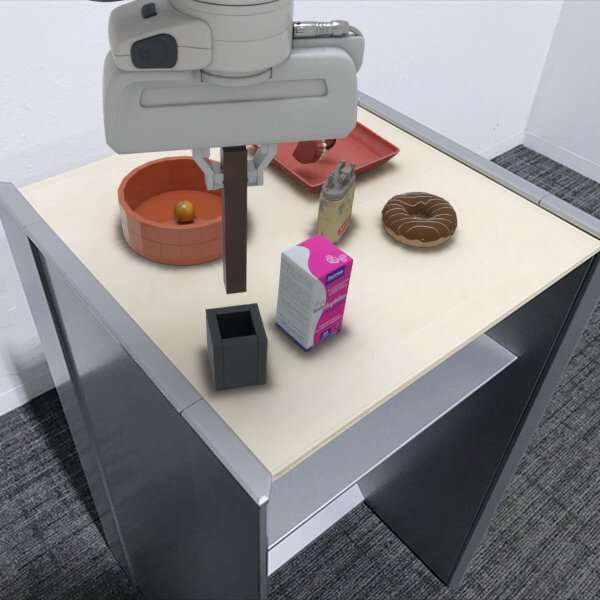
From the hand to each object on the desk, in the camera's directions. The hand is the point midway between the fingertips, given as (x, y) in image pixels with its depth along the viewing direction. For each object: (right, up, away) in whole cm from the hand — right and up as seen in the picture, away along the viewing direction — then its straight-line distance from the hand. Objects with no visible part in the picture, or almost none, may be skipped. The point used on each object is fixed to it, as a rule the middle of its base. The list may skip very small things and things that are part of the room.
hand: (233, 184), depth 58 cm
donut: (+22, 0, +37) cm, 43 cm away
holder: (-1, -18, +16) cm, 24 cm away
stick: (-1, -9, +8) cm, 12 cm away
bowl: (-10, 0, +34) cm, 35 cm away
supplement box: (+7, -14, +21) cm, 26 cm away
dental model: (+11, +16, +44) cm, 48 cm away
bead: (-10, +2, +33) cm, 34 cm away
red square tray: (+9, +12, +48) cm, 51 cm away
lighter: (+10, 0, +36) cm, 37 cm away
